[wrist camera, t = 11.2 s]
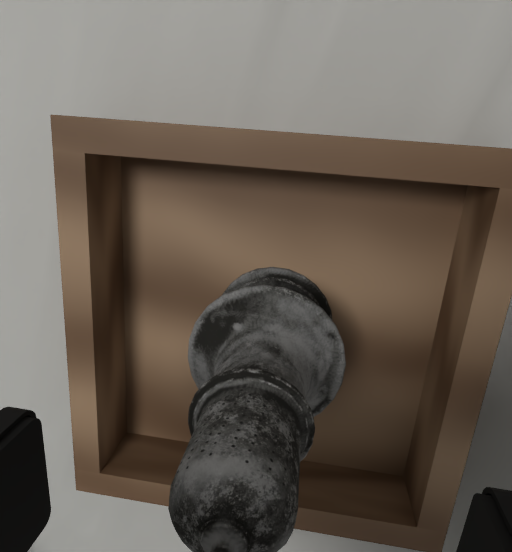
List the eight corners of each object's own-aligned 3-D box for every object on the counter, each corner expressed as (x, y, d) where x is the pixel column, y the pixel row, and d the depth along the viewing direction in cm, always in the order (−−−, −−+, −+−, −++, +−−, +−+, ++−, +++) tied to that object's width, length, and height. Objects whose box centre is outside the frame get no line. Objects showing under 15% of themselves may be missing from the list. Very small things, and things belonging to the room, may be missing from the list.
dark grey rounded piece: (337, 384, 19) (373, 720, 8) (212, 378, 20) (81, 677, 9) (342, 261, 18) (396, 462, 6) (205, 259, 18) (32, 437, 7)
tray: (99, 120, 18) (50, 114, 15) (502, 151, 16) (550, 151, 13) (111, 440, 23) (76, 489, 20) (421, 490, 21) (440, 554, 18)
